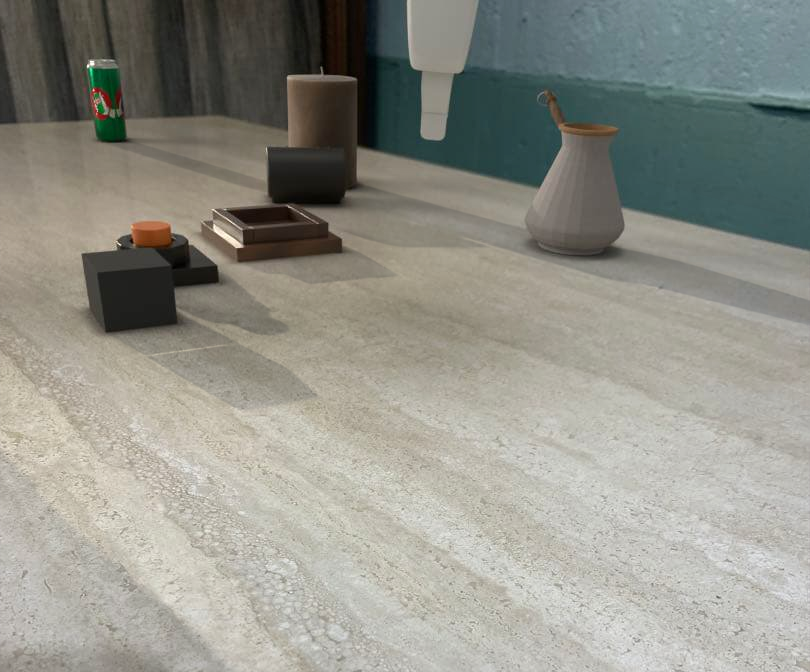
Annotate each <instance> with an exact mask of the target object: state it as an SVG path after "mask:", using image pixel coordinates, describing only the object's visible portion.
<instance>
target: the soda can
mask: <svg viewBox="0 0 810 672" xmlns="http://www.w3.org/2000/svg"><path fill="white" fill-rule="evenodd" d="M87 62H88V63H87V66H86V74H87V81H88V88H89V95H90V103H91V109H92V110H91V111H92V117H93V125H94V131H95V138H97V140H99V141H100V142H104V143H121V142H125V141H126V139H127V138H128V134H127V126H126V117H125V107H124V100H123V92H122V84H121V83H122V81H121V75H120V68H119V66H118V65H117V63H116V60H115V59H108V58H107V59H106V58H91V59H87Z"/></svg>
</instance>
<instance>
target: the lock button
mask: <svg viewBox="0 0 810 672" xmlns="http://www.w3.org/2000/svg"><path fill="white" fill-rule="evenodd" d="M130 226H131V227H130V228H131V234H132V237H133V244H135V245H140V246H161V245H167V244H171V243H172V237H171V233H172V228H171V224H170V223H168V222H165V221H159V220H145V221H143V220H142V221H137V222H134V223H132V224H131V225H130Z"/></svg>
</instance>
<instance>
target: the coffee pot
mask: <svg viewBox="0 0 810 672" xmlns="http://www.w3.org/2000/svg"><path fill="white" fill-rule="evenodd" d="M543 94H544V97H545V99H546V101H545V103H546V104H542V103H540V101H539V99H540V96H543ZM536 100H537V103H538V104H539V105H540V106H542V107H549V109H550V116H551V117H552V118H553V120H554V122H555V124H556V126H557V128H558V130H559V131H560V133H561V142H562V145H561V148H560V150H559V152H558V153H557V155H556V157H555V159H554V161H553V162H552V165H551V166H550V168H549V170H548V172H547V174H546V176H545V178H544V180H543V181H542V184H541V185H540V187H539V189H538V191H537V193H536V194H535V197H534V199H533V200H532V202H531V204H530V206H529V208H528V210H527V212H526V214H525V216H524V223H525V226H526V230H527V231H528V233H529V234H530V235H531V237H532V238H533V239H534V240H535V241H537V245H538V247H540V248H541V249H542V250H545V251H548V252H551V253H552V252H553V253H556V254H561V255H569V256H570V255H571V256H592V255H594V256H595V255H598V254H602V253H603V252H604V251H605V248H607V247H610V246H611V245H612V244H614V243H615V242H616V241H617V240H619V238H620V237H621V236H622V234H623V233H624V231H625V225H626V224H625V219H624V214H623V209H622V205H621V201H620V196H619V195H620V194H619V191H618V187H617V182H616V178H615V177H616V176H615V173H614V168H613V164H612V159H611V155H610V151H609V149H610V146H611V143H612V142H613V140H614V137H615V135H616V134H617V135H618V132H619V131H620V130H619V127H616V126H613V125H606V124H599V123H588V122H567V121H566V119H565V116H564V113H563V111H562V108H561V107H560V106H559V104H558V103H557V102H558V101H557V100H558V99H557V97H556V94H555V93H553V91H551V90H550V89H549V88H546V89H545V90H544V91H542V92H540V93H539V94H538V96H537V98H536Z"/></svg>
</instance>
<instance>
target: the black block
mask: <svg viewBox="0 0 810 672" xmlns="http://www.w3.org/2000/svg"><path fill="white" fill-rule="evenodd" d="M81 261H82V267H83V274H84V281H85V286H86V293H87V300H88V305H89V311H90V313H91V314H92V316H93V317H94V318H95V320H96V321H97V322H98V324H99V326H100V327H101V328H102V331H104V333H106V334H107V333H109V334H110V333H116V332H117V333H118V332H125V331H132V330H139V329H141V330H142V329H148V328H156V327H163V326H172V325H179V324H178V314H177V313H178V312H177V304H176V293H175V287H174V283H173V273H172V266H171V265H170V264H169V263H168V262H167V261H166V260H165V259H164V258H163V257H162V256H161V255H160V254H159V253H158V252H157V251H155V250H154V249H153V248H152V247H150V248H138V249H127V250H117V249H115V250H105V251H94V252H82V253H81Z"/></svg>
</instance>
